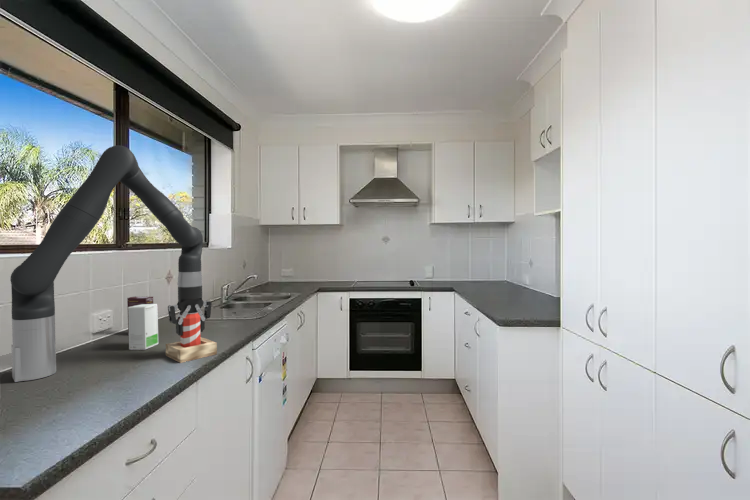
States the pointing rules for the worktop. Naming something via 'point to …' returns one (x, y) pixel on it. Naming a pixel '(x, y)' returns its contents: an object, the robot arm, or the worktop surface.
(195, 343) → the beverage can
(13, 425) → the worktop surface
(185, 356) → the holder block
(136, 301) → the supplement box
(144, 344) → the skincare box
